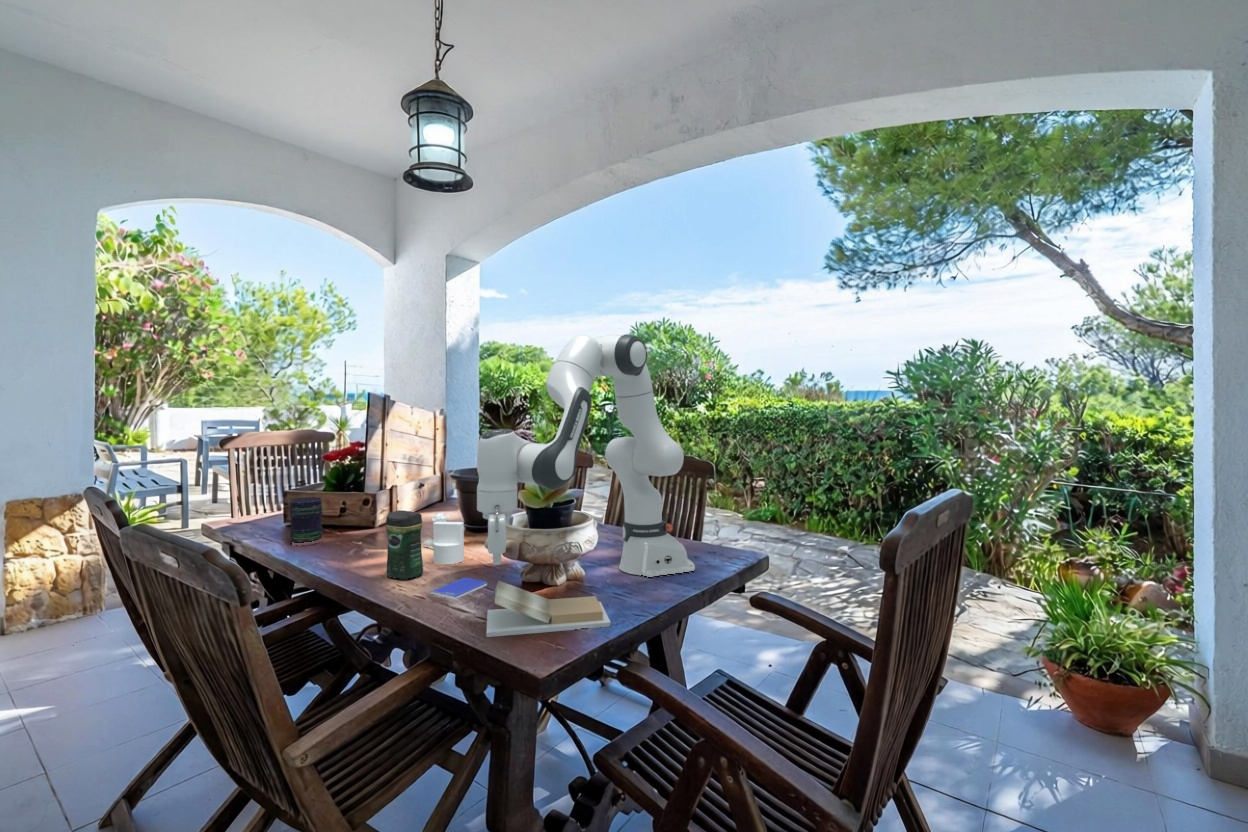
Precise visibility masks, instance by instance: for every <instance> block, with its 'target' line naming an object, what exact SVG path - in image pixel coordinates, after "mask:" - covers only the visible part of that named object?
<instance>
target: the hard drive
mask: <svg viewBox="0 0 1248 832" xmlns="http://www.w3.org/2000/svg"><path fill="white" fill-rule="evenodd" d="M486 586H488V581H485V580H480V579H474V578H470V577H462V578H461V579H458V580H456V581H453V582H450V583H448V584H446V585H443V586H440V587H438V588H435V589H433V590H431V591H430V595H431V594H435V595H438V596H437V597H440V596H442V597H441V598H444V597H446V599H449V598H450V600H453V599H454V601H455V600H457V599H460V598H461V597H464V596H467V595H468V594H471V593H473V592H475V591H477V590H479V589H481V588H484V587H486ZM435 595H434V596H435Z"/></svg>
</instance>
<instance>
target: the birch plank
mask: <svg viewBox="0 0 1248 832" xmlns="http://www.w3.org/2000/svg"><path fill="white" fill-rule="evenodd" d="M548 600H549V598H547V597H544V596H541V595H538V594H535V593H533V592H531V591H528V590H525V589H523V588H520V587H517V586H515V585H513V584H509V583H506V582H504V581H501V580H498V581H497V584H496V586H495V588H494V605H497V606H500V607H501V608H504V609H510V610H513V611H516V612H518V613H521V614H524V615H527V616H529V617H532V618H535V619H538V620H540V621H543V622H546V623H548V622H549V620H550V618H551V616H552V613H551V609H550V605H549V601H548Z"/></svg>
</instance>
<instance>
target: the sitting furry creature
mask: <svg viewBox="0 0 1248 832" xmlns="http://www.w3.org/2000/svg"><path fill="white" fill-rule="evenodd" d="M449 519H450V515H449V514H448V515H447V514H445V513H444V512H437V513H435V515H433V517H432V518H431V520H432V522H431V523H432V524H433V523H435V522H448V521H447V520H449ZM433 543H434V541H433V539H427V540H425V541H424V542H423V543H422V545H423V544H424V545H426V546H432V547H433ZM424 545H423V546H424Z"/></svg>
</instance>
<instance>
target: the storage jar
mask: <svg viewBox="0 0 1248 832" xmlns="http://www.w3.org/2000/svg"><path fill="white" fill-rule="evenodd" d="M289 504H290V505H289V518H290V530H289V538H290V543H291V542H294V543H304V542H312V541H316V540H319V539H321V538H322V539H323V525H322V514H323V505H322V504H323V503H322V497H316V496H315V497H313V496H312V497H311V496H308V497H299V498H293V499H290V500H289Z"/></svg>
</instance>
